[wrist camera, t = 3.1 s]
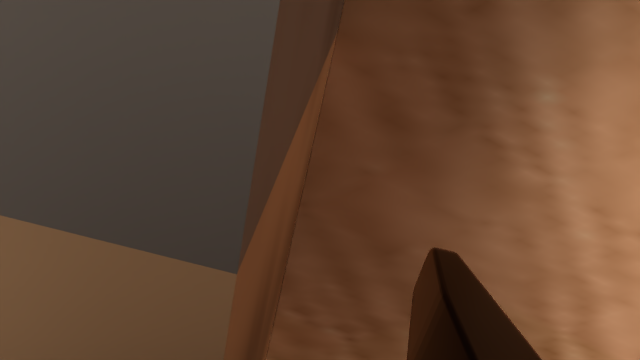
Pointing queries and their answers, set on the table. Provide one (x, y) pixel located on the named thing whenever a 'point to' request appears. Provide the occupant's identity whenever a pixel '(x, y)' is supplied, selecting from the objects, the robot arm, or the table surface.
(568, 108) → the table surface
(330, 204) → the table surface
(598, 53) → the table surface
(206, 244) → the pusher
